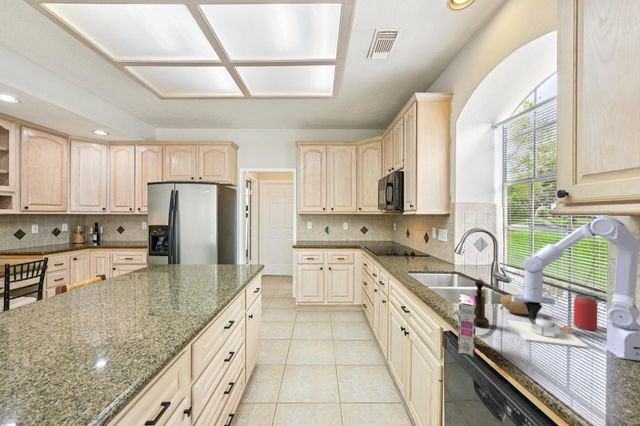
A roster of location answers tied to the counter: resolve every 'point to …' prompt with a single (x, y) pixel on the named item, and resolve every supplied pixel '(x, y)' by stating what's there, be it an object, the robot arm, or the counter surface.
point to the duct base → (564, 338)
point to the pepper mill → (480, 306)
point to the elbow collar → (544, 328)
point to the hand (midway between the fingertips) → (532, 320)
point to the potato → (514, 305)
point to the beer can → (585, 312)
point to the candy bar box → (467, 325)
